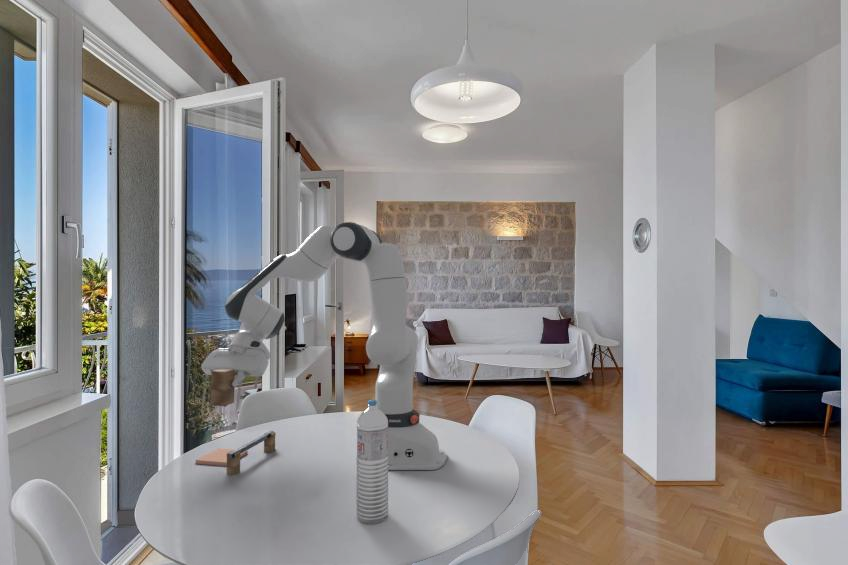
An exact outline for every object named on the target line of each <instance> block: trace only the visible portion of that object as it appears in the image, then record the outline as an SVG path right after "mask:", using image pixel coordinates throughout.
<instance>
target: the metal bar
mask: <svg viewBox="0 0 848 565" xmlns="http://www.w3.org/2000/svg"><path fill="white" fill-rule="evenodd" d="M267 432H268V433H266V432H265V433H266V434H264V433H263V434H262V435H260V436H259V437H257V438H254V439H253V440H251V441H250V442H247V443H246V444H243V445H242V446H240V447H238V448H236V449H233V450H234V451H232V452H231V453H229V454H228V458H230V459H232V458H234V454H236V453H238V452H240V454H241V453H243V452H245V451H248V450H250V449H252V448H253V447H255V446H257V445H259V444H261V443H262V442H264V440H266V439H268V438H269V437H271V434H272V433H274V432H275V431H274V430H269V431H267Z"/></svg>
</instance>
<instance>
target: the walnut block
mask: <svg viewBox="0 0 848 565" xmlns="http://www.w3.org/2000/svg"><path fill="white" fill-rule="evenodd" d="M210 378H211V380H210V384H211V385H210V406H214V407H226V406H229V405H232V404H234V403H235V387H230V385H229V383H230V382H231V379H235V378H236V376H235V369H218V370H214V371H212V372H211V376H210Z"/></svg>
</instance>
